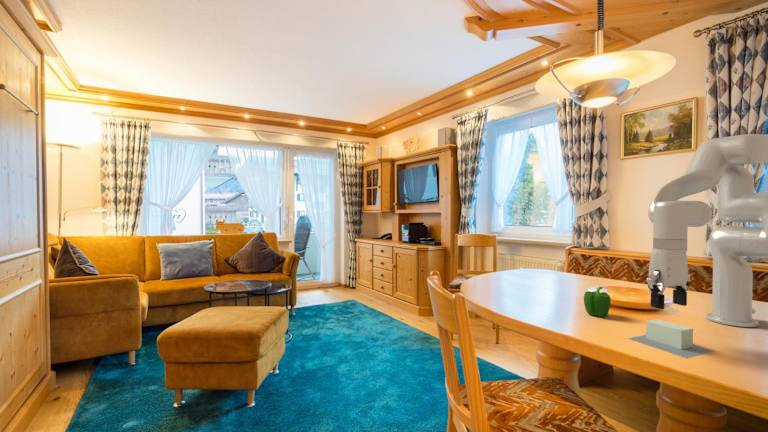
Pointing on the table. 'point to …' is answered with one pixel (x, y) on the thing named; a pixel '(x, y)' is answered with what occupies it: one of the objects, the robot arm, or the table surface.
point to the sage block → (669, 333)
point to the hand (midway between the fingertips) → (668, 306)
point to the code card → (680, 352)
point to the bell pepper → (597, 302)
